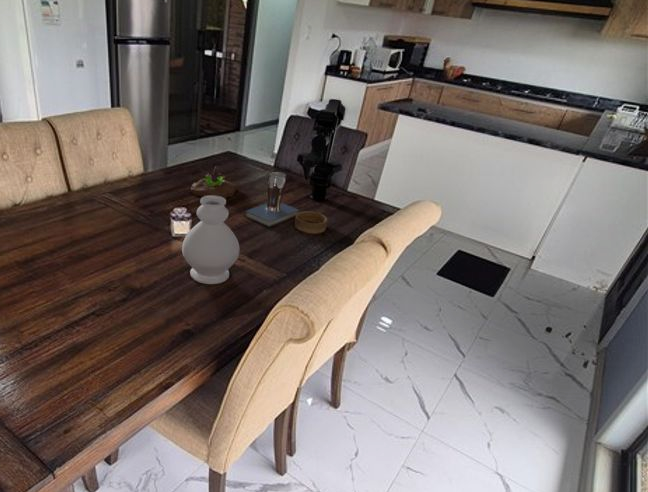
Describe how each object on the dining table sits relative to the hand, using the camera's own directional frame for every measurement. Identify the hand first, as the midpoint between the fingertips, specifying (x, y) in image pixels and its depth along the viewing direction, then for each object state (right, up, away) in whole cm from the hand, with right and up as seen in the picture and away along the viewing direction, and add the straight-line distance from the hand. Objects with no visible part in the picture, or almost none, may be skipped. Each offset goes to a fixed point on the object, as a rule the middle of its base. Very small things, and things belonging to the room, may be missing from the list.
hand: (315, 183), depth 189 cm
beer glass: (-17, -12, -1) cm, 21 cm away
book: (-18, -13, 0) cm, 22 cm away
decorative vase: (-42, -40, -42) cm, 72 cm away
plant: (-42, +1, +20) cm, 47 cm away
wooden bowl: (-3, -19, -7) cm, 20 cm away
